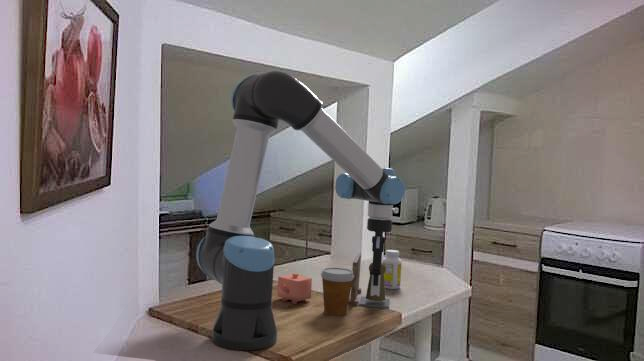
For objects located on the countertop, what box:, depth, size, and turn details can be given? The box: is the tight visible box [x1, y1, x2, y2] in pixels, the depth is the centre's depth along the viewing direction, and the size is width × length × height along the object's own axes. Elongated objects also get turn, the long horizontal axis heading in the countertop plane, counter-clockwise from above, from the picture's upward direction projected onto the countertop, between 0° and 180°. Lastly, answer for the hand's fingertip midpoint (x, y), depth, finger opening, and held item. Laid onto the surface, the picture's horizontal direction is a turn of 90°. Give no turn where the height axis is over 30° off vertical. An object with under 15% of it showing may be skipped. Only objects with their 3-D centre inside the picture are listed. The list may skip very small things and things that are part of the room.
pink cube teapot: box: [276, 272, 313, 305], centre depth 159 cm, size 8×12×8 cm, turn 143°
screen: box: [348, 252, 362, 307], centre depth 166 cm, size 3×18×13 cm, turn 172°
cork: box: [365, 262, 386, 301], centre depth 161 cm, size 6×6×11 cm
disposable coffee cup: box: [320, 267, 354, 317], centre depth 149 cm, size 10×10×12 cm
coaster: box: [358, 295, 390, 309], centre depth 162 cm, size 9×9×1 cm
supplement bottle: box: [382, 249, 403, 290], centre depth 184 cm, size 7×7×13 cm
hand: (375, 293), depth 162 cm, fingers open, 5 cm apart
